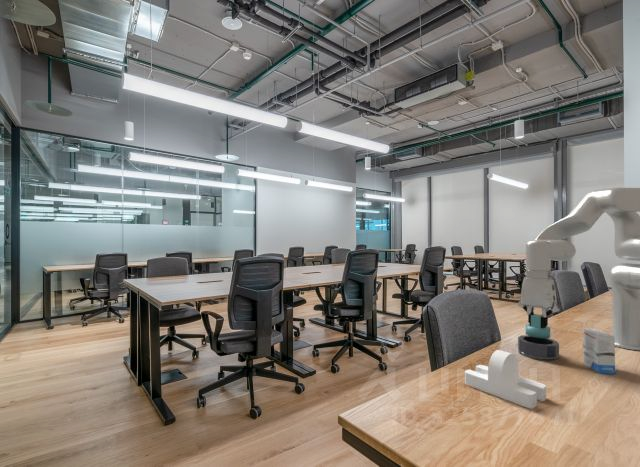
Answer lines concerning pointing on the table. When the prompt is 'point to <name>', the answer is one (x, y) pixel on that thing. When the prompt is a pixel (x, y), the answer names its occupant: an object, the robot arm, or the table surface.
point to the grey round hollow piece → (538, 348)
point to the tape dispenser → (505, 380)
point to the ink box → (599, 350)
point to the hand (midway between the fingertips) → (537, 326)
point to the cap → (537, 328)
